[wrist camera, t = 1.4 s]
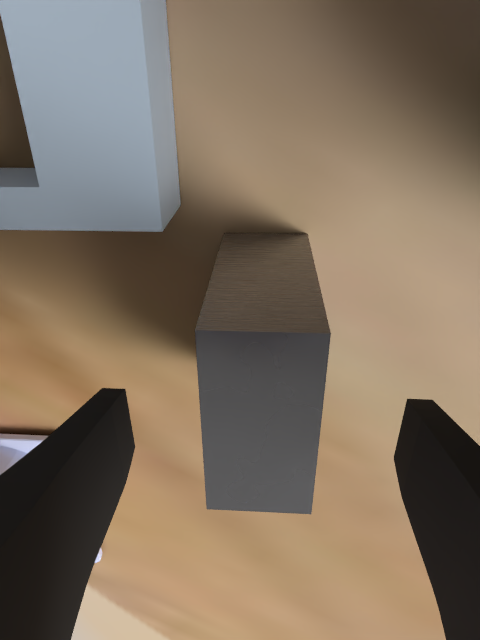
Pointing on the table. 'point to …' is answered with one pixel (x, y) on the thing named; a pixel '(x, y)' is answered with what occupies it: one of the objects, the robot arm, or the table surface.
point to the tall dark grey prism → (262, 374)
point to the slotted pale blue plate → (92, 116)
